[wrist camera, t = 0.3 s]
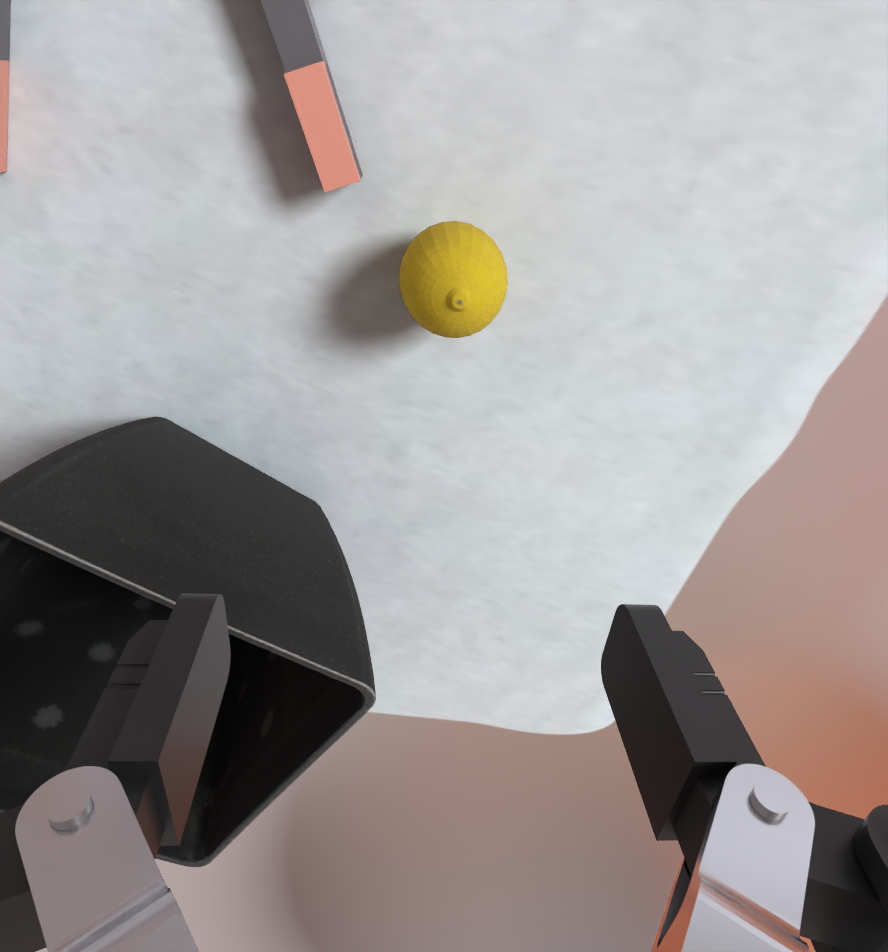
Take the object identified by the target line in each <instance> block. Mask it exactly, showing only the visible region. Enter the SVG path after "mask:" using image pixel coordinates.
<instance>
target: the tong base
mask: <svg viewBox="0 0 888 952" xmlns="http://www.w3.org/2000/svg"><path fill="white" fill-rule="evenodd" d="M10 6H11V0H0V173H1V172H6V171H7V141H8V96H9V51H10Z"/></svg>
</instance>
